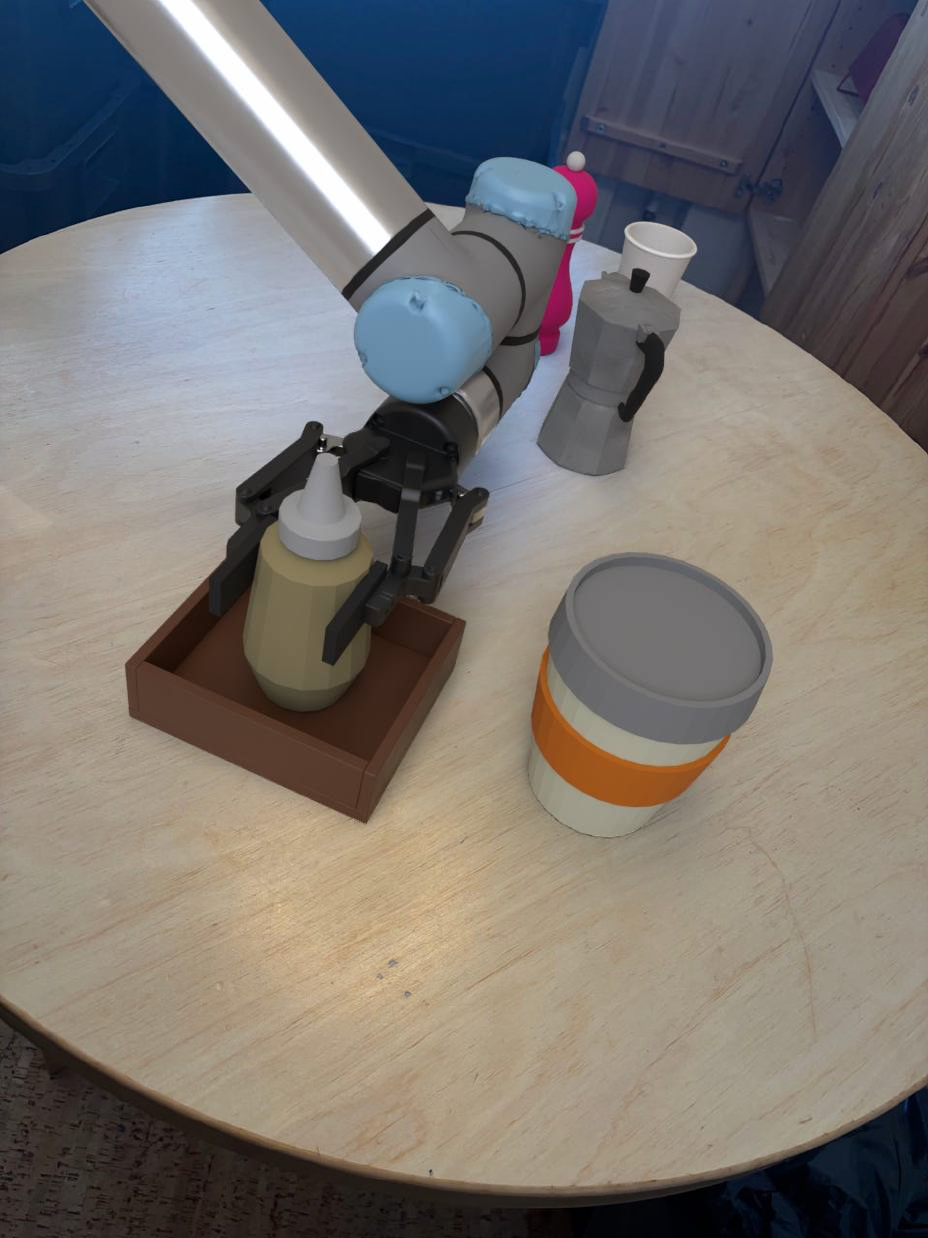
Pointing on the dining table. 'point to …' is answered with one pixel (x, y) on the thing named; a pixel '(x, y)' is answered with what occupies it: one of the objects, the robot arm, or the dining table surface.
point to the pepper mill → (567, 252)
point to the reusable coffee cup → (640, 688)
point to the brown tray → (286, 739)
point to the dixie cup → (657, 254)
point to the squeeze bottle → (307, 593)
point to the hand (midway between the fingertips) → (272, 621)
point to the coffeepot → (608, 371)
